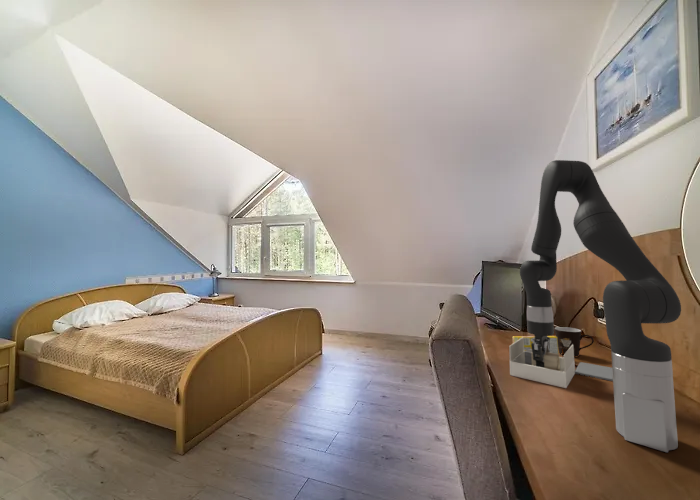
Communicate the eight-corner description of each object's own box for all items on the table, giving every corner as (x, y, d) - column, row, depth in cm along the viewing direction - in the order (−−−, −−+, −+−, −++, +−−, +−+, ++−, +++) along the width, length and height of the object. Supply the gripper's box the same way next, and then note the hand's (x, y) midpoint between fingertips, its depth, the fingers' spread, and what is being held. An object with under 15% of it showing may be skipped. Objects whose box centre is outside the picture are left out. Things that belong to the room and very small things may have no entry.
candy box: (556, 357, 114) (554, 335, 114) (559, 358, 112) (558, 337, 112) (513, 356, 116) (512, 335, 116) (515, 358, 113) (514, 337, 114)
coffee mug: (550, 352, 119) (549, 328, 120) (565, 350, 122) (564, 326, 122) (580, 361, 108) (579, 334, 109) (596, 358, 111) (595, 332, 111)
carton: (566, 388, 86) (564, 355, 86) (510, 375, 97) (508, 346, 97) (575, 373, 97) (573, 344, 98) (524, 362, 108) (522, 337, 108)
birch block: (557, 379, 92) (556, 357, 92) (525, 372, 98) (524, 351, 99) (560, 375, 95) (559, 354, 96) (529, 369, 102) (528, 348, 102)
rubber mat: (628, 384, 87) (628, 382, 88) (574, 373, 97) (574, 371, 97) (629, 372, 97) (629, 370, 97) (580, 363, 106) (580, 362, 106)
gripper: (548, 324, 90) (551, 380, 89) (557, 317, 100) (560, 367, 99) (521, 321, 95) (523, 373, 95) (532, 315, 105) (535, 362, 105)
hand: (542, 370), depth 97 cm, fingers closed on birch block, 4 cm apart
